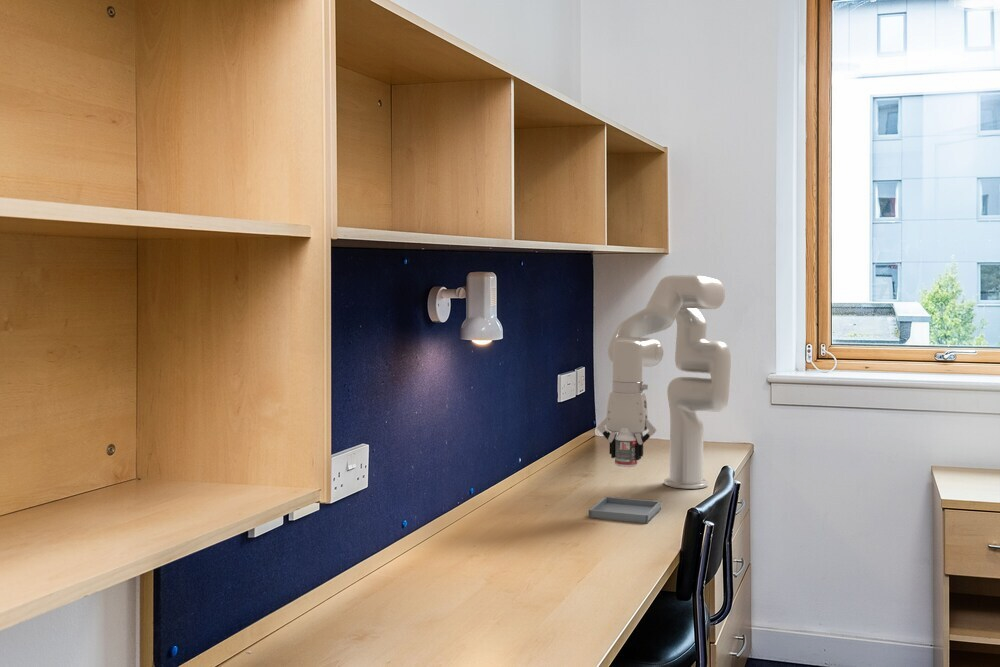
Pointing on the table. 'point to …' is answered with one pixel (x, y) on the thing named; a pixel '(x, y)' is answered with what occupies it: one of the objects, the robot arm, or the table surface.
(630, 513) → the slate tray
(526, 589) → the table surface
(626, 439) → the pill bottle
